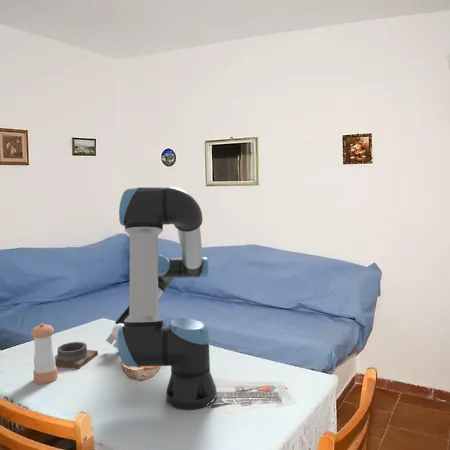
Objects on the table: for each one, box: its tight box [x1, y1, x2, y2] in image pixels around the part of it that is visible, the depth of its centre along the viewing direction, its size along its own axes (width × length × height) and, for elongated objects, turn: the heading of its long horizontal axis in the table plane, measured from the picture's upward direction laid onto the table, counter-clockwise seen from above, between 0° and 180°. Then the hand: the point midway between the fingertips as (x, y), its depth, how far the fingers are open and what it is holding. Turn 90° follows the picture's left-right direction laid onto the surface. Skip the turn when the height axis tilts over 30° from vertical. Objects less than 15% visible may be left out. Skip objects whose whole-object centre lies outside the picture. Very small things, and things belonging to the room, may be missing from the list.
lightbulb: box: [111, 323, 124, 352], centre depth 174 cm, size 6×6×11 cm
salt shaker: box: [30, 323, 58, 385], centre depth 151 cm, size 7×7×19 cm
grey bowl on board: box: [55, 341, 99, 370], centre depth 167 cm, size 13×13×5 cm
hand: (112, 345), depth 172 cm, fingers closed on lightbulb, 6 cm apart
